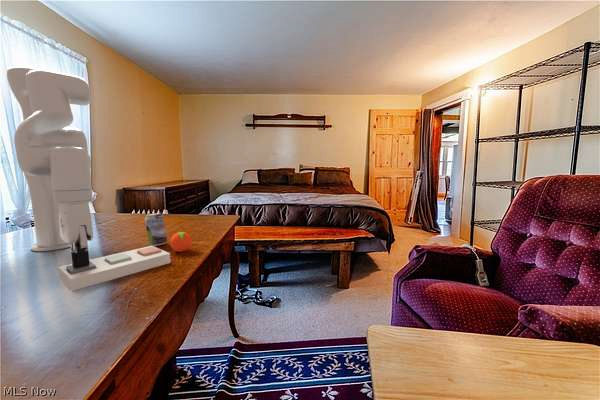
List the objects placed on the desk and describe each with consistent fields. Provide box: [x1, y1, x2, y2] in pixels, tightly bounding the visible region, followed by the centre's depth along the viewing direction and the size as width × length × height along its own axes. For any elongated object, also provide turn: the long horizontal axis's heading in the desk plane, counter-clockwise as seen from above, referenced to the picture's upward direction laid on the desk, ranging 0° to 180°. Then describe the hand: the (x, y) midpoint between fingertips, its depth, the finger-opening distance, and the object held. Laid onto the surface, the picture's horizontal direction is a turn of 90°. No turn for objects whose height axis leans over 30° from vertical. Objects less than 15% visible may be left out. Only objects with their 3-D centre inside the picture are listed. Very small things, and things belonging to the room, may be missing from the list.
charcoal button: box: [66, 261, 96, 275], centre depth 71 cm, size 5×5×3 cm
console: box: [57, 245, 171, 292], centre depth 78 cm, size 12×24×3 cm, turn 142°
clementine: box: [170, 231, 193, 253], centre depth 94 cm, size 8×7×7 cm
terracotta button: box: [137, 246, 162, 256], centre depth 85 cm, size 5×5×3 cm
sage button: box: [105, 252, 131, 265], centre depth 78 cm, size 5×5×3 cm
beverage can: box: [144, 212, 168, 247], centre depth 100 cm, size 6×7×12 cm
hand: (81, 265), depth 71 cm, fingers closed
